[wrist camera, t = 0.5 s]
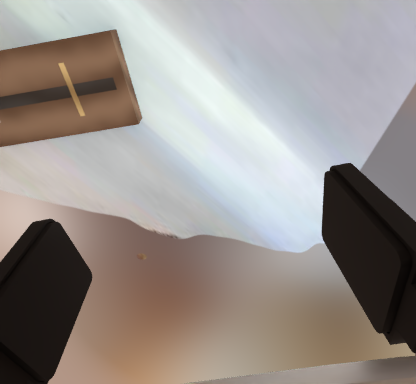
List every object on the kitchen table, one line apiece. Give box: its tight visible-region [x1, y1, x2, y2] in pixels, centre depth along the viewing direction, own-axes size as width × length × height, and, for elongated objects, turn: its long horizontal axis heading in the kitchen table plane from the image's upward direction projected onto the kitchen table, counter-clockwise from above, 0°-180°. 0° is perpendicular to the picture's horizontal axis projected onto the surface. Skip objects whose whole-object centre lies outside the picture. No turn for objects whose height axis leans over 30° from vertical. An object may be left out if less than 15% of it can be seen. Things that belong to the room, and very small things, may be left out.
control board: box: [0, 30, 142, 147], centre depth 38 cm, size 12×24×3 cm, turn 99°
